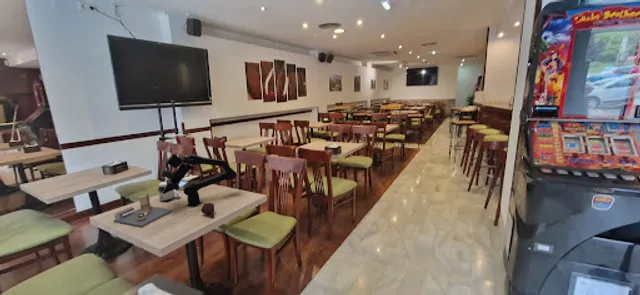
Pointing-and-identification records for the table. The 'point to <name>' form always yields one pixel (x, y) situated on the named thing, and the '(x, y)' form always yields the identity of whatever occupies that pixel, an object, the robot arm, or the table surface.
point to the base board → (151, 217)
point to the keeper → (120, 214)
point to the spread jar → (168, 195)
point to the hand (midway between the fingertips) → (163, 193)
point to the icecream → (208, 209)
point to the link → (144, 206)
